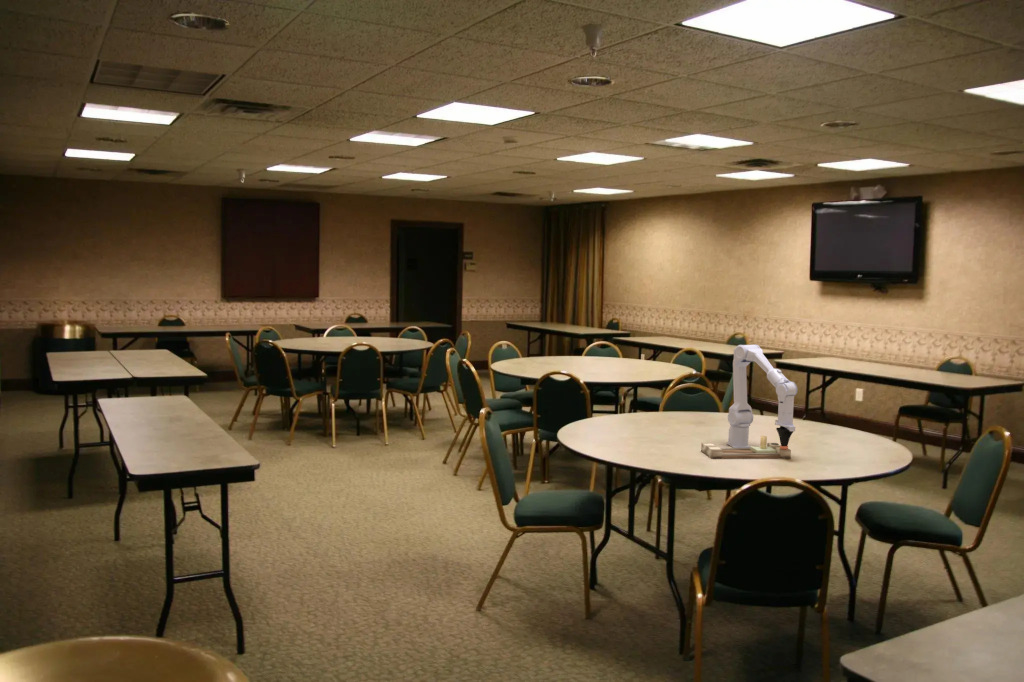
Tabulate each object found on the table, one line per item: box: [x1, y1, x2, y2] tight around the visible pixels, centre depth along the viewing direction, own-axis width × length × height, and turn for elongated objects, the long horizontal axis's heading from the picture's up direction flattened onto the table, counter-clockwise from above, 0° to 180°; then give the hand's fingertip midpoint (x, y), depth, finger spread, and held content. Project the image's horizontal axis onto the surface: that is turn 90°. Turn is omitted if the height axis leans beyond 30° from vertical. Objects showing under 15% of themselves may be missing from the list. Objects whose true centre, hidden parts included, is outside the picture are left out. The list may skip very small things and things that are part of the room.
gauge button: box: [780, 444, 789, 450], centre depth 318 cm, size 3×3×1 cm
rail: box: [700, 442, 792, 460], centre depth 322 cm, size 14×32×4 cm, turn 95°
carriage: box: [750, 435, 776, 453], centre depth 322 cm, size 7×8×6 cm
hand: (784, 445), depth 318 cm, fingers closed
